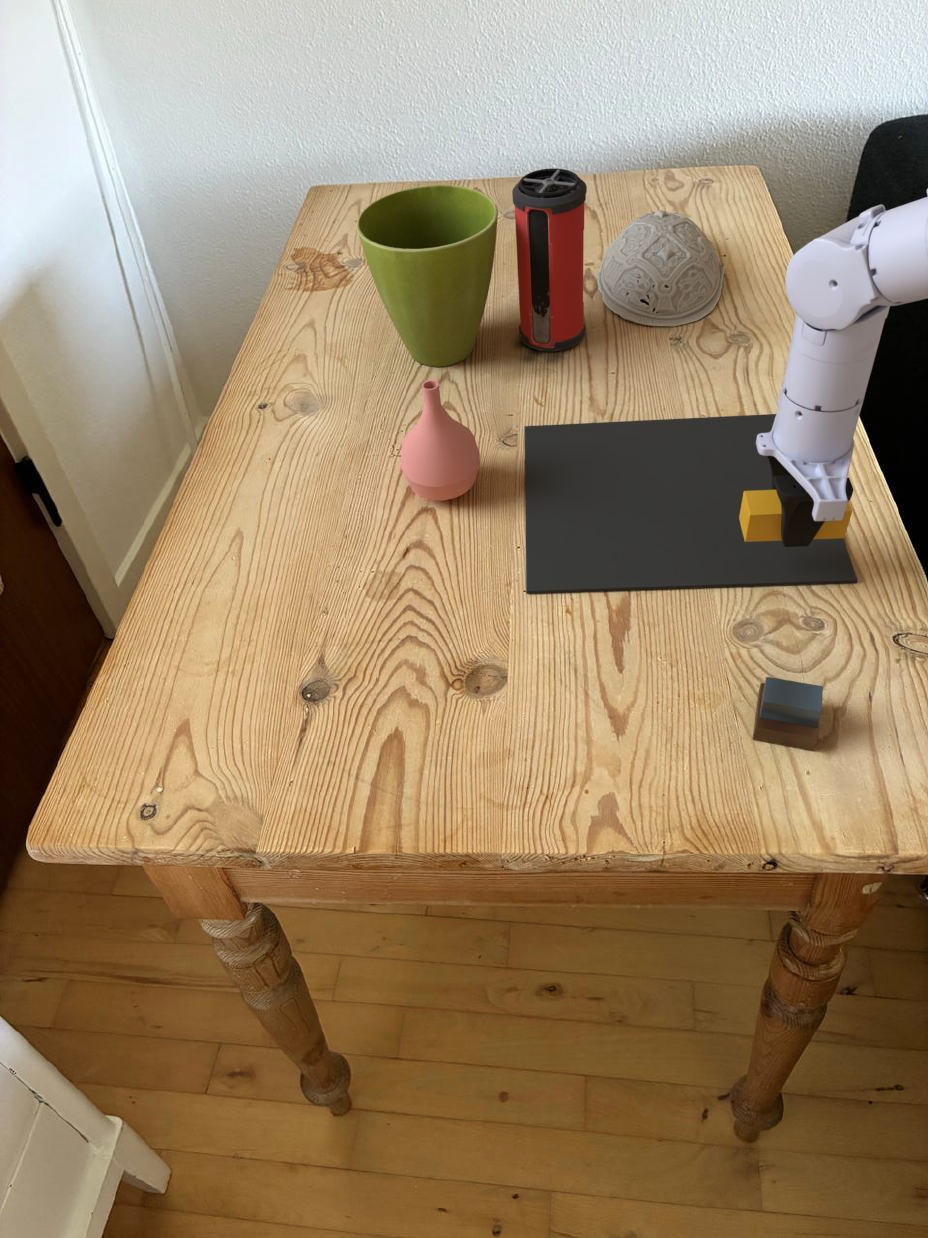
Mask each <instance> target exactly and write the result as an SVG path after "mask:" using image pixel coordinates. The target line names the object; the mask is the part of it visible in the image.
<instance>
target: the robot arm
mask: <svg viewBox="0 0 928 1238" xmlns="http://www.w3.org/2000/svg"><path fill="white" fill-rule="evenodd" d="M926 195H927V196H926V197H922V198H920V199H916V200H914V201H911V202H908V203H905V204H902V205H899V206H896V207H894V208H891V209H887V210H886V206H885V205H884V204H879V205H875V206H872V207H870V208H868V209H866V210H864V211H863V212H861V213H860V214H859V215H858V216H856V217H854V218H852V219H850V220H849V221H847V222H845V223H843V224H841V225H839V226H838V227H835V228H833V229H832V230H830V231H828V232H827V233H824V234H822V235H821V236H819V237H816V238H814V239H812V241H810V242H808V243H806V244H805V245H804V246H803V247H801V248H800V249H799V250H797V251H796V252H795V253H794V254H793V255H792V257H791V259H790V260H789V263H788V265H787V267H786V272H785V279H784V285H785V293H786V296H787V300H788V302H789V304H790V306H791V308H792V310H793V311H794V312H795V318H794V323H793V328H792V334H791V339H790V344H789V350H788V355H787V360H786V365H785V371H784V375H783V380H782V385H780V386H779V392H778V397H777V402H776V406H777V411H776V413H775V414H776V417H775V421H774V424H773V427H772V430H771V432H768V433H760V434H758V435H757V439H756V446H757V449H758V452H759V454H761V455H763V456H767V457H768V460H769V463H770V468H771V477H772V490H776V491H777V494H778V497H779V499H780V502H781V510H782V516H781V537H782V542H783V545H784V547H801V546H809V545H810V543H811V542H812V540H813V539H814V537H815V536H816V534H817V533H818V531H819V530H820V528H821V526H822V525H823V524H824V522H825V521H837V520H843V516H844V512H845V509H846V505H847V502H848V501H849V502H850V501H851V499H852V497H853V494H854V487H853V483H852V481H851V479H850V477H848V476H849V472H850V467H851V463H852V459H853V458H852V457H853V454H854V448H855V439H854V437H855V433H856V429H857V425H858V422H859V418H860V414H861V411H862V407H863V405H864V401H865V396H866V392H867V388H868V384H869V381H870V377H871V374H872V370H873V367H874V362H875V359H876V355H877V351H878V348H879V344H880V341H881V336H882V332H883V328H884V325H885V322H886V319H887V318H888V316H889V311H890V308H891V307H896V306H902V305H905V304H910V303H914V302H918V301H923V300H927V299H928V188H927V189H926Z"/></svg>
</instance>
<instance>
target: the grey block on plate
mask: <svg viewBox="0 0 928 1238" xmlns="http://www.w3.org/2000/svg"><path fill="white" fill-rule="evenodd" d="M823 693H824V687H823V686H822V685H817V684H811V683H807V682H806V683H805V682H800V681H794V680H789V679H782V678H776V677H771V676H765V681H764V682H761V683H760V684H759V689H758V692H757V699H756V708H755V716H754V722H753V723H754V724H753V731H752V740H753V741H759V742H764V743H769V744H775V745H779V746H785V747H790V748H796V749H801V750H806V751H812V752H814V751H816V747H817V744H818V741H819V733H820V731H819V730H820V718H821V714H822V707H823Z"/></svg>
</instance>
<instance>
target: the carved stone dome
mask: <svg viewBox="0 0 928 1238" xmlns="http://www.w3.org/2000/svg"><path fill="white" fill-rule="evenodd" d="M725 268H726V266H725V265H724V263H722V262H721V260H720V257H719V255H718V252H717V251H716V249H715V248H714V243H713V242H712V241H711V240H710V238H708V236H707V235H706V234H705V233H704V232H703V230H702V229H701V228H700V227H699V226H698V225H697V224H696V223H695V221H694V220H692V219H690V218H688V217H687V216H685V215H682V214H679V213H677V212H672V211H666V210H663V209H659V210H656V211H651V212H647V213H645V214H643V215H641V216H638V217H637V218H635V219H633V220H631V221H629V223H627V224H626V225H625V227H624V228H623V229H622V231H621V232H620V233H619V234H618V236H617V237H616V238H615V239H614V240H613V241H612V242H610V243H609V245H608V246H607V247H606V250H605V254H604V257H603V258H602V261H601V262H600V265H599V267H598V269H599V271H598V272H597V277H596V283H597V288H598V291H599V292H600V293H601V294H602V302H603V303H604V304H605V306H606V307H607V308H608V309H610V310H611V311H612V312H613V313H614V314H616V315H618V316H620V317H621V318H622V319H624V320H627V321H629V322H633V323H635V324H639V325H644V326H648V327H649V326H650V327H668V328H671V327H673V328H674V327H679V326H684V325H688V324H691V323H694V322H698V321H700V320H701V319H704V317H706V316H707V315H709V314H710V313H711V312H712V311H714V309H715V307H716V305H717V304H718V302H719V300H720V298H721V296H722V289H723V281H724V280H725V278H724V274H725V273H726V269H725ZM641 300H644V301H645V302H642V301H641ZM647 303H648V304H647Z"/></svg>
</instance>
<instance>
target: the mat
mask: <svg viewBox="0 0 928 1238" xmlns="http://www.w3.org/2000/svg"><path fill="white" fill-rule="evenodd" d="M776 414H777V413H769V414H768V413H767V414H766V413H765V414H747V415H746V414H745V415H727V416H707V417H706V416H705V417H688V418H687V417H686V418H685V417H683V418H663V419H646V420H645V419H644V420H643V419H642V420H623V421H603V422H602V421H601V422H583V423H564V424H562V423H561V424H543V425H542V424H541V425H524V494H525V497H524V498H525V500H524V501H525V502H524V506H525V509H524V510H525V513H524V514H525V592H526V593H525V594H526V595H535V594H536V595H537V594H539V595H540V594H565V593H568V594H569V593H571V594H572V593H597V592H598V593H600V592H627V591H628V592H629V591H631V592H632V591H656V590H657V591H659V590H661V591H663V590H687V589H688V590H689V589H718V588H720V589H722V588H751V587H752V588H753V587H777V586H779V587H780V586H782V587H784V586H811V585H839V584H840V585H842V584H843V585H844V584H857V583H858V580H859V579H858V576H857V574H856V570H855V568H854V565H853V563H852V559H851V557H850V554H849V551H848V548H847V545H846V542H845V540H844V539H845V538H838V539H813V540H812V542H811V543H810V545H809V546H801V547H784V545H783V542H782V541H756V542H745V540H744V536H743V532H742V528H741V524H740V520H739V516H740V510H741V504H742V498H743V492H744V491H755V490H772V477H771V468H770V463H769V460H768V457H767V456H763V455H761V454H759V452H758V449H757V446H756V439H757V435H758V434H760V433H768V432H771V430H772V427H773V424H774V421H775V417H776Z"/></svg>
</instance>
